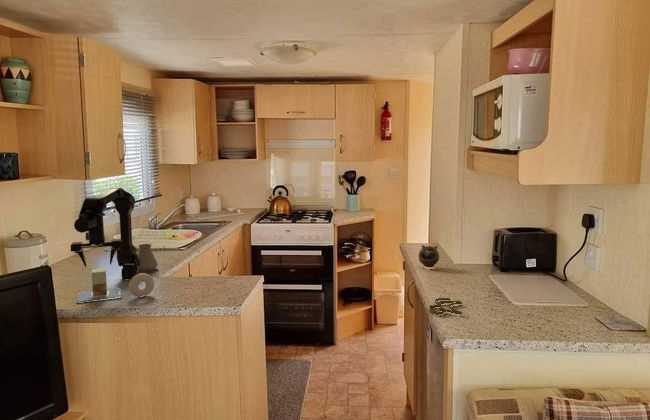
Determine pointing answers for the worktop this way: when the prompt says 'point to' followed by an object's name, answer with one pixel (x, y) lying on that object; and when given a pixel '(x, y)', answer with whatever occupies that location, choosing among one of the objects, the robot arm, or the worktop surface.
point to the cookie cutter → (444, 308)
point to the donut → (139, 278)
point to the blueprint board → (89, 296)
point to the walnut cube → (99, 289)
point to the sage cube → (98, 276)
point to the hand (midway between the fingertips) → (98, 265)
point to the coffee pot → (146, 258)
